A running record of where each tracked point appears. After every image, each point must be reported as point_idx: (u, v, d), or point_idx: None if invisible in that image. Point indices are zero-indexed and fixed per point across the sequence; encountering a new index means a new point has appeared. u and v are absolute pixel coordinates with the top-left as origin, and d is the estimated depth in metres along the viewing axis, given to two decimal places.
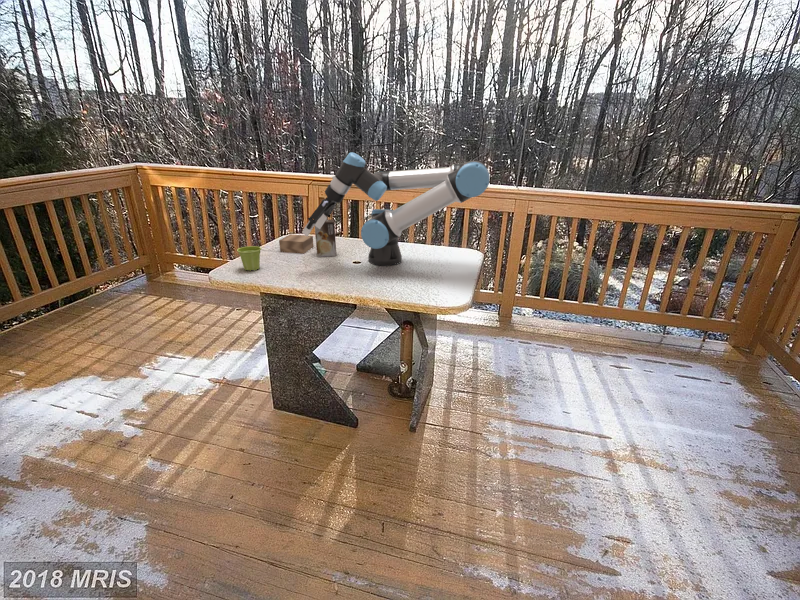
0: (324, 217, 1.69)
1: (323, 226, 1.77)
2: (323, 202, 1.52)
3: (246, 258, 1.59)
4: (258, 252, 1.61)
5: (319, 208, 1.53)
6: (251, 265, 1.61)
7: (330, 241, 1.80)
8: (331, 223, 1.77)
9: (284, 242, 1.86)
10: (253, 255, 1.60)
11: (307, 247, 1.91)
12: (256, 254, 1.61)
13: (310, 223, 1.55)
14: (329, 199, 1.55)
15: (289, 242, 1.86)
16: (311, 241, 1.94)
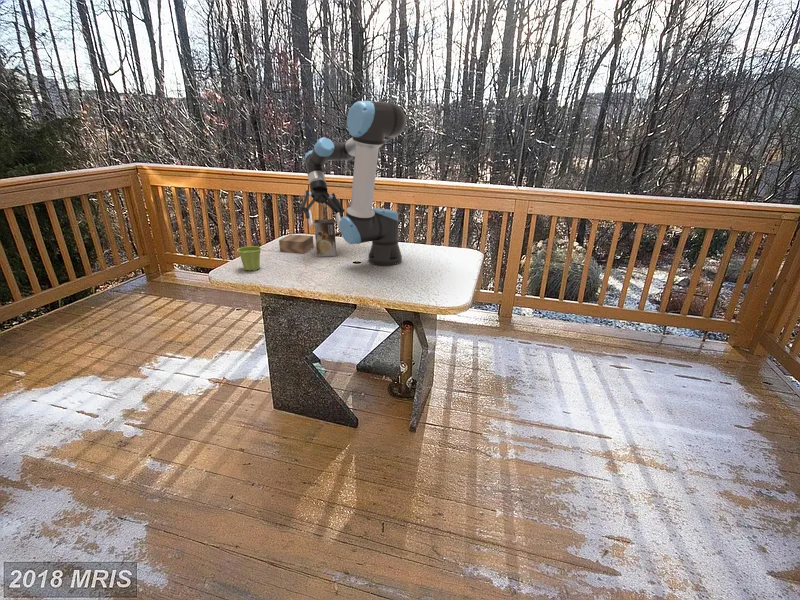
0: (337, 214, 1.78)
1: (323, 226, 1.77)
2: (305, 193, 1.73)
3: (246, 258, 1.59)
4: (258, 252, 1.61)
5: (304, 198, 1.72)
6: (251, 265, 1.61)
7: (330, 241, 1.80)
8: (331, 223, 1.77)
9: (284, 242, 1.86)
10: (253, 255, 1.60)
11: (307, 248, 1.91)
12: (256, 254, 1.61)
13: (305, 212, 1.70)
14: (311, 190, 1.75)
15: (289, 242, 1.86)
16: (311, 241, 1.94)
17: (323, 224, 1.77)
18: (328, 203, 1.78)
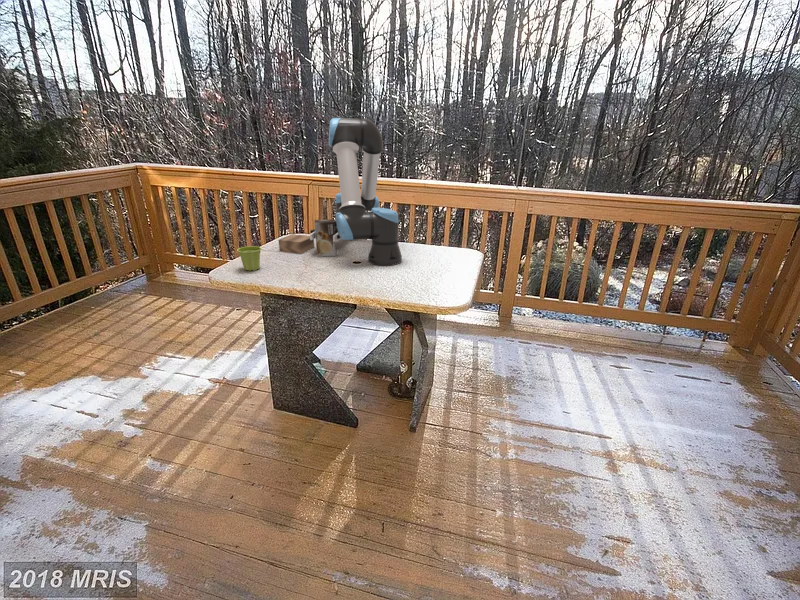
0: None
1: (323, 226, 1.77)
2: None
3: (246, 258, 1.59)
4: (258, 252, 1.61)
5: None
6: (251, 265, 1.61)
7: (330, 241, 1.80)
8: (331, 223, 1.77)
9: (283, 242, 1.87)
10: (253, 255, 1.60)
11: (306, 248, 1.90)
12: (256, 254, 1.61)
13: None
14: None
15: (287, 242, 1.86)
16: (311, 241, 1.94)
17: (323, 224, 1.77)
18: (336, 232, 1.89)
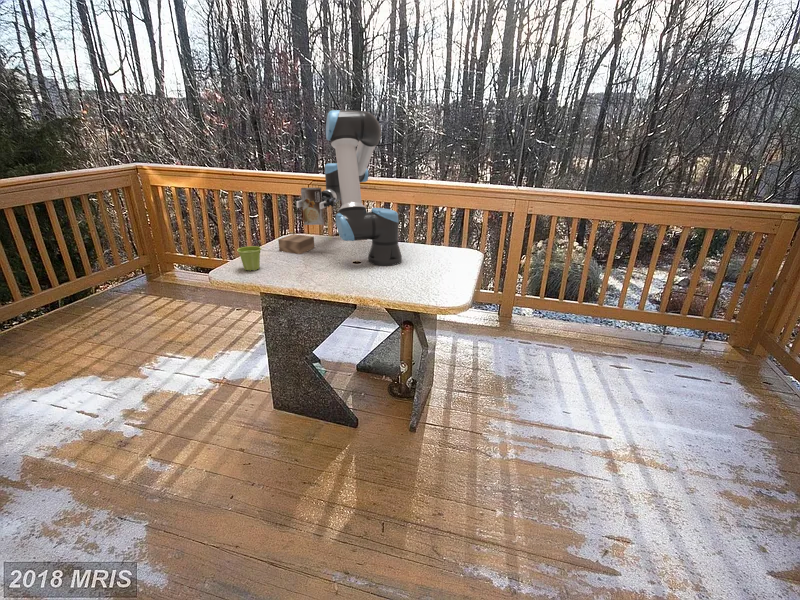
0: None
1: (310, 193, 1.76)
2: None
3: (246, 258, 1.59)
4: (258, 252, 1.61)
5: None
6: (251, 265, 1.61)
7: (317, 209, 1.79)
8: (318, 190, 1.76)
9: (282, 241, 1.87)
10: (253, 255, 1.60)
11: (306, 248, 1.90)
12: (256, 254, 1.61)
13: None
14: None
15: (287, 242, 1.86)
16: (311, 242, 1.93)
17: (310, 191, 1.76)
18: (324, 201, 1.88)
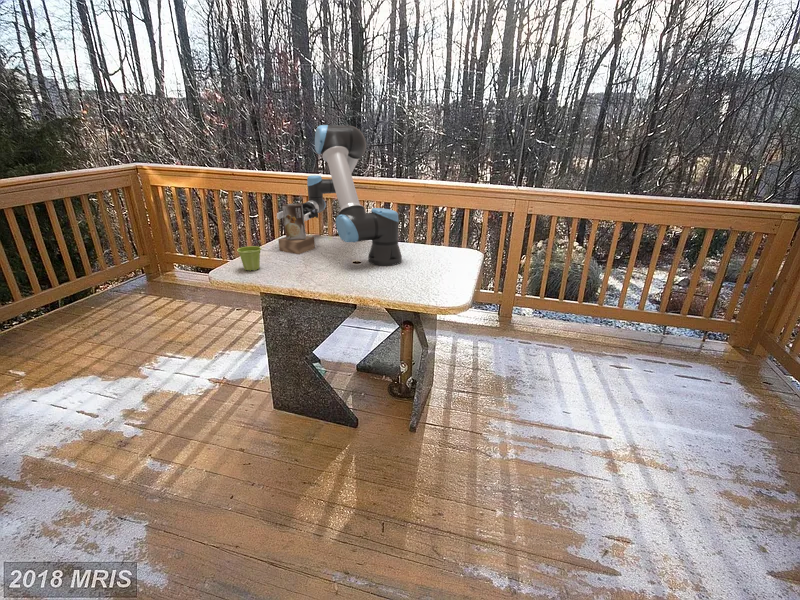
0: None
1: (291, 210, 1.82)
2: None
3: (246, 258, 1.59)
4: (258, 252, 1.61)
5: None
6: (251, 265, 1.61)
7: (298, 224, 1.85)
8: (298, 207, 1.82)
9: (282, 241, 1.88)
10: (253, 255, 1.60)
11: (305, 248, 1.89)
12: (256, 254, 1.61)
13: None
14: None
15: (286, 242, 1.87)
16: (311, 242, 1.93)
17: (291, 207, 1.82)
18: (307, 212, 1.94)
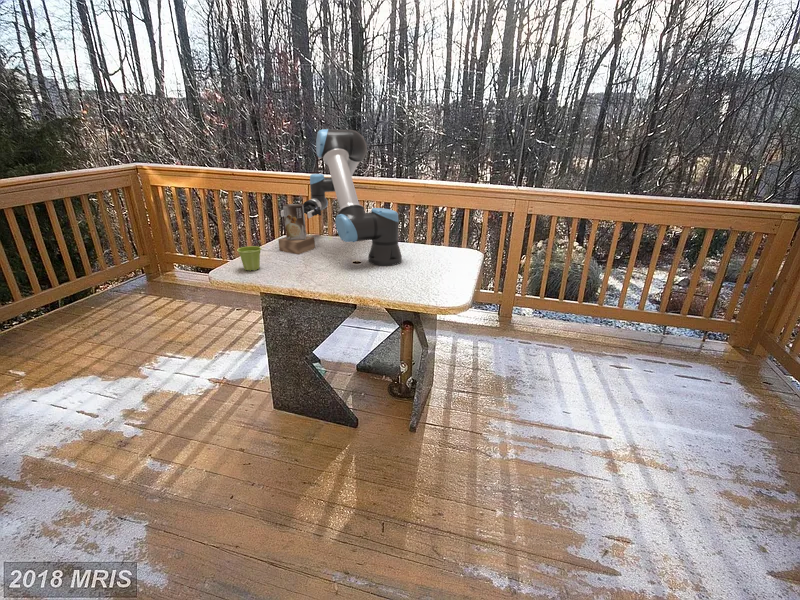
0: None
1: (291, 210, 1.82)
2: None
3: (246, 258, 1.59)
4: (258, 252, 1.61)
5: None
6: (251, 265, 1.61)
7: (299, 224, 1.85)
8: (299, 207, 1.82)
9: (282, 241, 1.88)
10: (253, 255, 1.60)
11: (305, 249, 1.89)
12: (256, 254, 1.61)
13: None
14: None
15: (286, 242, 1.87)
16: (311, 242, 1.92)
17: (291, 207, 1.82)
18: (310, 210, 1.98)
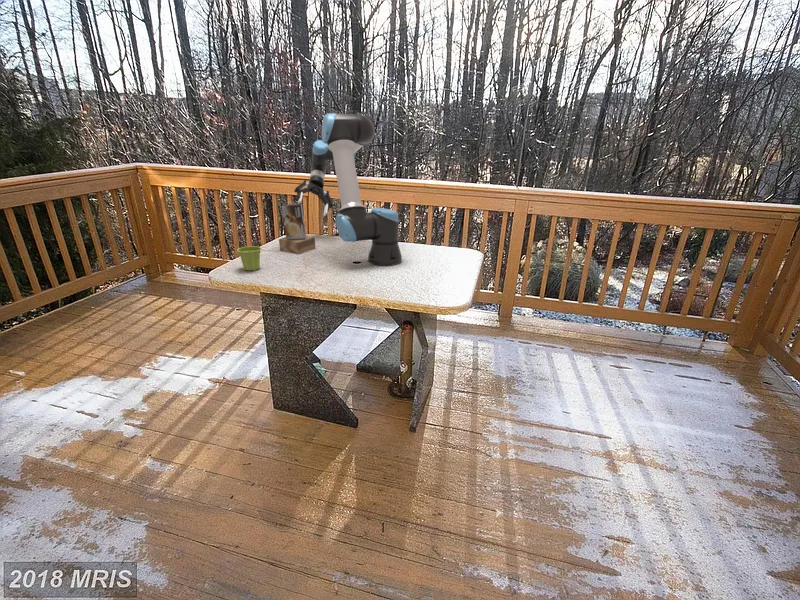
0: (325, 205, 1.99)
1: (290, 209, 1.83)
2: None
3: (246, 258, 1.59)
4: (258, 252, 1.61)
5: None
6: (251, 265, 1.61)
7: (298, 223, 1.86)
8: (298, 206, 1.83)
9: (283, 241, 1.88)
10: (253, 255, 1.60)
11: (306, 248, 1.89)
12: (256, 254, 1.61)
13: (297, 193, 1.92)
14: (309, 182, 2.01)
15: (287, 242, 1.87)
16: (312, 242, 1.93)
17: (290, 207, 1.82)
18: (320, 196, 2.01)
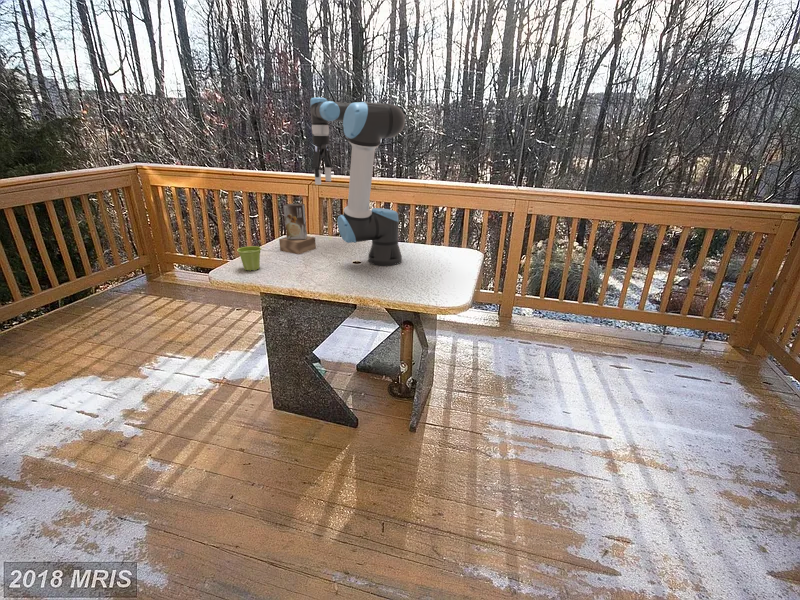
0: (328, 169, 1.94)
1: (292, 209, 1.83)
2: (315, 148, 1.78)
3: (246, 258, 1.59)
4: (258, 252, 1.61)
5: (314, 155, 1.78)
6: (251, 265, 1.61)
7: (299, 224, 1.85)
8: (299, 206, 1.83)
9: (283, 241, 1.88)
10: (253, 255, 1.60)
11: (306, 249, 1.89)
12: (256, 254, 1.61)
13: (316, 171, 1.80)
14: (318, 144, 1.80)
15: (287, 242, 1.87)
16: (312, 242, 1.92)
17: (292, 207, 1.82)
18: (324, 157, 1.89)
